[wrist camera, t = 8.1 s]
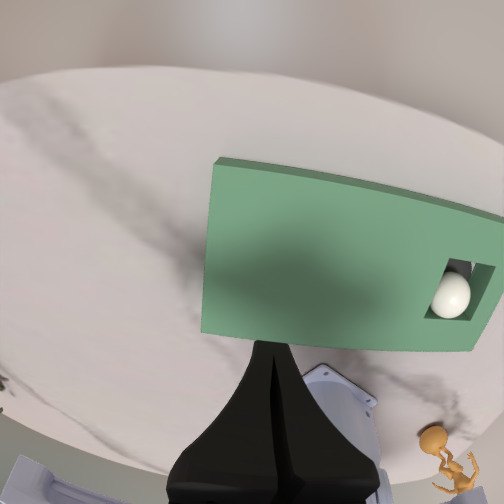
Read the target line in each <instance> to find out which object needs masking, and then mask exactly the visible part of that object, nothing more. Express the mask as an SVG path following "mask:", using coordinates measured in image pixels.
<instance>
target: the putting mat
mask: <svg viewBox="0 0 504 504" xmlns="http://www.w3.org/2000/svg"><path fill="white" fill-rule="evenodd" d="M471 262H475V263H476V265H475V267H474V270H473V272H472V275H471V271H472V266H471ZM445 272H456V273H458V274H460V275H462V276H463V277H464V278H465V279H466V281H467V282H468V281H469V282H468V284H469V287H470V301H469V304H468V306H467V308H466V309H465V310H464V312H463V313H461V314H460V315H459V316H457V317H454V318H442V317H440V316H438V315H437V314H435V313H434V311H433V310H432V309H431V307H430V303H431V301H432V299H433V296H434V294H435V292H436V290H437V287H438V285H439V282H440V280H441V278H442V275H443V273H445ZM470 276H471V277H470ZM503 292H504V218H503V217H500V216H497V215H494V214H491V213H487V212H484V211H481V210H478V209H474V208H471V207H468V206H464V205H461V204H457V203H454V202H450V201H446V200H443V199H439V198H435V197H432V196H428V195H424V194H420V193H416V192H412V191H408V190H404V189H399V188H395V187H391V186H387V185H382V184H378V183H373V182H368V181H364V180H359V179H354V178H349V177H344V176H339V175H334V174H328V173H323V172H317V171H312V170H306V169H300V168H294V167H287V166H281V165H274V164H268V163H261V162H253V161H246V160H238V159H230V158H221V157H219V159H218V160H217V161H216V162H215V163H214V164H213V173H212V184H211V194H210V205H209V216H208V228H207V240H206V254H205V268H204V283H203V299H202V317H201V333H207V334H214V335H221V336H228V337H235V338H242V339H250V340H262V341H271V342H280V343H287V344H295V345H305V346H317V347H329V348H344V349H360V350H381V351H415V352H459V351H472V349H473V348H474V346H475V344H476V343H477V341H478V339H479V337H480V336H481V334H482V332H483V330H484V329H485V327H486V325H487V323H488V321H489V319H490V317H491V316H492V314H493V312H494V310H495V308H496V306H497V304H498V302H499V300H500V298H501V296H502V294H503Z"/></svg>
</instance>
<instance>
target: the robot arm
mask: <svg viewBox="0 0 504 504" xmlns="http://www.w3.org/2000/svg"><path fill="white" fill-rule="evenodd" d="M377 403H378V402H377V399H375V398H374V397H372V396H371V395H369V394H368V393H366V392H365V391H363V390H362V389H360V388H359V387H357V386H356V385H354V384H353V383H351V382H350V381H348V380H347V379H345V378H344V377H342V376H341V375H340V374H338V373H337V372H335V371H334V370H332V369H331V368H329V367H328V366H326V365H320V366H318V367H317V368H315V369H314V370H312V371H311V372H309V373H308V374H306V375H305V376H303V377H302V376H301V374H300V372H299V370H298V367H297V365H296V363H295V361H294V358H293V356H292V353H291V351H290V348H289V345H288V344H287V343H280V342H271V341H262V340H256V341H255V342H254V346H253V352H252V357H251V359H250V362H249V365H248V367H247V369H246V371H245V374H244V376H243V378H242V380H241V381H240V383H239V385H238V387H237V389H236V390H235V392H234V394H233V395H232V397H231V398H230V400H229V401H228V403H227V404H226V406H225V407H224V408H223V410H222V411H221V412H220V414H219V415H218V416H217V417H216V419H215V420H214V421H213V422H212V423H211V424H210V426H209V427H208V428H207V429H206V430H205V431H204V432H203V433H202V434H201V435H200V436H199V437H198V438H197V439H196V440H195V441H194V442H193V443H192V444H190V445H189V446H188V447H187V448H186V449H185V450H184V451H183V452H182V453H181V455H180V456H179V458H178V459H177V461H176V462H175V464H174V466H173V467H172V469H171V471H170V474H169V476H168V481H167V486H166V491H167V495H168V498H169V504H393V498H392V492H391V487H390V483H389V479H388V475H387V472H386V471H385V470H384V469H382V468H380V467H379V463H380V459H381V447H380V443H379V439H378V435H377V431H376V427H375V422H374V418H373V415H372V411H371V408H372V407H374V406H375V405H377ZM0 502H1V503H2V504H131V503H128V502H124V501H121V500H117V499H114V498H111V497H108V496H105V495H102V494H99V493H96V492H93V491H91V490H88V489H85V488H83V487H80V486H77V485H75V484H72V483H70V482H68V481H65V480H63V479H60V478H58V477H56V476H54V475H53V473H52V472H51V471H50V470H49V469H48V468H47V467H45V466H43V465H42V464H40V463H38V462H36V461H34V460H32V459H30V458H28V457H26V456H24V455H19V457H18V459H17V461H16V463H15V465H14V467H13V469H12V471H11V474H10V476H9V478H8V480H7V483H6V485H5V487H4V489H3V491H2V494H1V496H0ZM441 504H487V500H486V497H485V494H484V491H483V487H482V486H479V487H476V488H473V489H470V490H467V491H465V492H462V493H460V494H459V495H457V496H456V497H454V498H453V499H452V500H451V501H448V502H445V503H441Z"/></svg>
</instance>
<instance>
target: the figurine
mask: <svg viewBox="0 0 504 504" xmlns="http://www.w3.org/2000/svg"><path fill="white" fill-rule="evenodd" d="M447 440H448V435H447V432H446V431H445V429H444V428H442V427H440V426H432V427H429V428H428V429H426V430H425V431H424V432H423V433H422V435H421V437H420V441H419V444H420V448H421V449H422V451H424V452H425V453H427V454H432V455H434V456H438V457H439V458H440V459H441V460H442V462H441V464H440V467H439V472H441V473H443V474H444V475H446V476H447V477H448V478H449V479H450V480H451V479H452V478H453V479H454V488H455V489H454V490H450V491H449V490H448V489H445V488H443V487H440V486H437V485H435V484H434V483H432V484H433V485H434V486H435V487H436V488H438V489H440V490H442V491H445V492H446V493H449V494H455V493H457V495H459V494H460V493H462V492H465V491H467V490H470V489H473V486H474V481H475V478H476V477H477V475H478V472H479V468H478V466H477V464H476V461H475V459H474V456H473V454H472V452H471V454H470V453H469V454H470V455H468V456H469V457H470V458H468V459H472V463H473V466H474V469H475V472H474V474H473V476H472V477H471V479H470V478H468V477H467V476H465V475H464V474H463V473H462V472H461V471H462V470H463V467H462V466H461V465H459V464H458V463H456V462H454V461H452V460H451V459H452V458H453V455H452V454H451V452H450V451H449V450H447V449H446V448H445V445H446V443H447ZM440 451H444V452H445V453H447V454H448V455H449V456H448V459H447V465H448V466H449V468H450V469H449V468H444V467H443V466H444V465H445V464H446V461H445V458H444V457H443V456H442V455H441V454H440V453H439V452H440Z"/></svg>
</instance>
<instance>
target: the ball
mask: <svg viewBox="0 0 504 504" xmlns="http://www.w3.org/2000/svg"><path fill="white" fill-rule="evenodd" d="M469 301H470V287H469V284H468V282H467V281H466V279H465V278H464V277H463V276H462V275H460V274H458V273H456V272H445V273H443V275H442V278H441V280H440V282H439V285H438V287H437V290H436V292H435V294H434V296H433V299H432V301H431V303H430V307H431V309H432V310H433V311H434V313H435V314H437V315H438V316H440V317H442V318H454V317H457V316H459V315H460V314H461V313H463V312H464V310H465V309H466V308H467V306H468V304H469Z"/></svg>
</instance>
